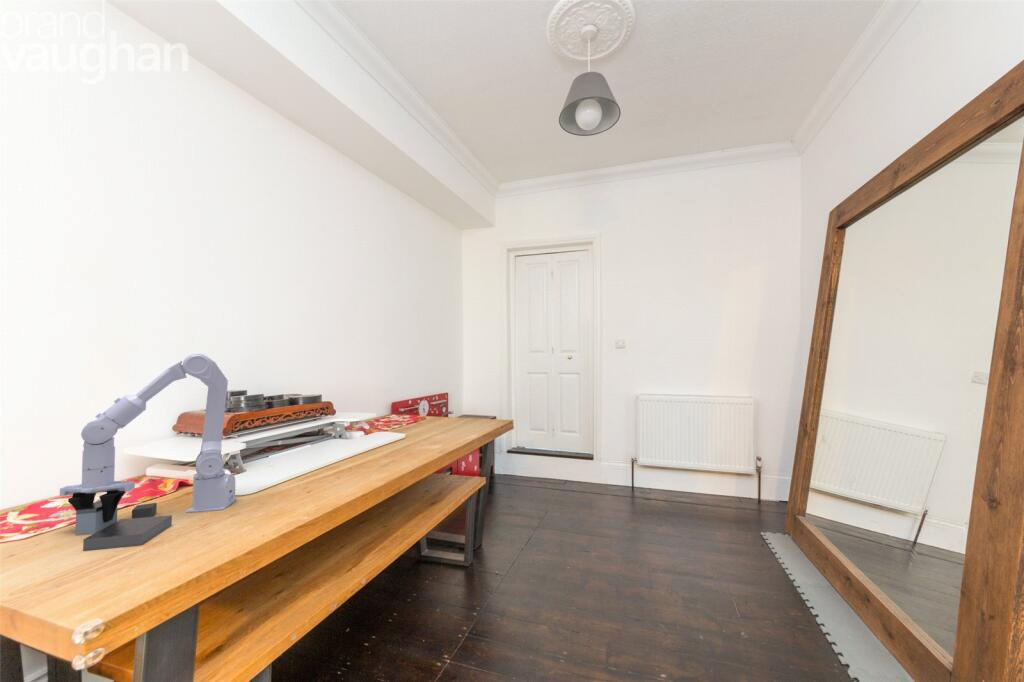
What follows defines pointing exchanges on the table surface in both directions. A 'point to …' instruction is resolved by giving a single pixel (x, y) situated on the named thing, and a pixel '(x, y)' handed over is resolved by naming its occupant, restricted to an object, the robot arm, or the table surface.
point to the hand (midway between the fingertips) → (97, 521)
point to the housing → (92, 519)
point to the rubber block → (144, 510)
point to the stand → (127, 532)
